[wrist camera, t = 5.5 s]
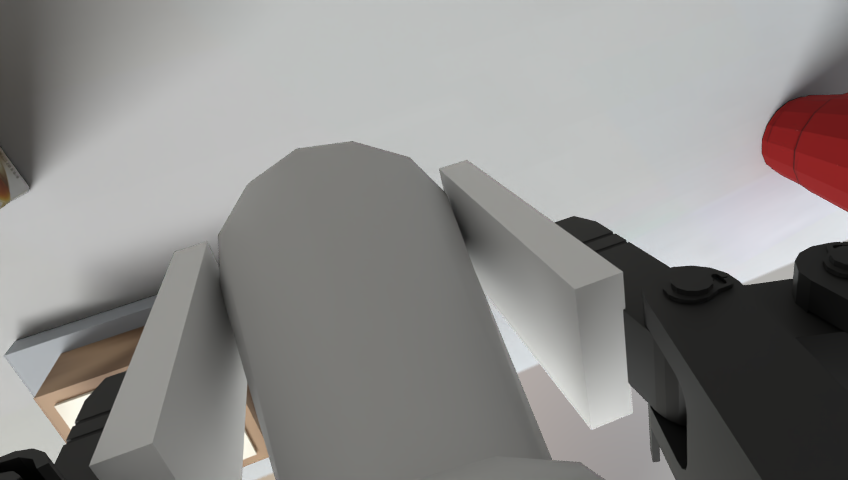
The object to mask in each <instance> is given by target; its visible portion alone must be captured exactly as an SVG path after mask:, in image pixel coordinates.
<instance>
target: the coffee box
mask: <svg viewBox="0 0 848 480" xmlns="http://www.w3.org/2000/svg"><path fill="white" fill-rule="evenodd" d="M28 192H29V186H28V185H27V183H26V182H25V181H24V179H23V178H22V177H21V175H20V174H19V173H18V171H17V170H16V168H15V167H14V166H13V164H12V163H11V161H10V160H9V159H8V157H7V156H6V155H5V153H4V152H3V150H2V149H1V148H0V209H1V208H2V207H4V206H5V205H6V204H8V203H9V202H11V201H12V200H15V199H17V198H19V197H21V196H22V195H24V194H26V193H28Z"/></svg>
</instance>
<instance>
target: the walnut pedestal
mask: <svg viewBox="0 0 848 480" xmlns="http://www.w3.org/2000/svg"><path fill="white" fill-rule="evenodd" d="M144 327H145V326H142V327H139V328H136V329H133V330H130V331H127V332H124V333H121V334H118V335H115V336H112V337H109V338H106V339H103V340H100V341H97V342H94V343H91V344H88V345H85V346H82V347H79V348H76V349H73V350H70V351H67V352H64V353H61V354H60V356H59V358H58V359H57V361H56V363H55V364H54V366H53V367H52V369H51V371H50V372H49V374H48V376H47V377H46V379H45V381H44V382H43V384H42V386H41V387H40V389H39V390H38V392H37V394H36V395H35V397H34V400H35V401H36V403H37V404H38V405H39V407H40V408H41V409H42V411H43V412H44V414H45V415H46V416H47V418H48V419H49V420H50V422H51V423H52V424H53V426H54V427H55V429H56V430H57V431H58V433H59V434H60V435H61V437H62V438H63V439H64V441H65V442H66V439H67V437H68V435H69V433H70V431H71V429H72V427H73V426H75V420H76V418H77V416H78V414H79V412H80V410H81V408H82V406H83V403H84V401H85V400H86V399H87V398H88V396H89V395H90V394H91V393H92V392H93V391H94V390H95V389H96V388H97V387H98V386H99V384H100V383H101V382H102V381H103V380H104V379H105V378H107V377H109V376H112V375H115V374H118V373H121V372H124V371H127V369H128V367H129V364H130V362H131V359H132V357H133V354H134V352H135V349H136V347H137V344H138V342H139V339H140V337H141V334H142V332H143V329H144ZM66 444H67V443H66ZM268 457H269V455H268V452H267V448H266V445H265V441H264V438H263V434H262V431H261V428H260V424H259V421H258V417H257V414H256V410H255V407H254V403H253V400H252V396H251V393H250V390H249V386H248V383H247V397H246V414H245V432H244V449H243V467H245V466H247V465H250V464H252V463H255V462H258V461H260V460H263V459H265V458H268Z"/></svg>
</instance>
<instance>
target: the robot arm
mask: <svg viewBox="0 0 848 480" xmlns="http://www.w3.org/2000/svg"><path fill="white" fill-rule="evenodd" d="M439 171H440V175H441V180H442V184H443V189H444V192H445V193H446V194H447V196H448V199H449V201H450V204H451V207H452V210H453V212H454V215H455V218H456V221H457V223H458V226H459V229H460V232H461V234H462V237H463V240H464V243H465V245H466V248H467V251H468V253H469V256H470V259H471V262H472V264H473V267H474V270H475V272H476V275H477V277H478V280H479V282H480V284H481V287H482V289H483V292H484V293H485V295H486V296H487V297H488V298H489V300H490V301H491V302H492V303H493V305H494V306H495V307H496V309H497V310H498V311H499V312H500V314H501V315H502V316H503V318H504V319H505V320H506V321H507V323H508V324H509V325H510V326H511V328H512V329H513V330H514V332H515V333H516V334H517V335H518V337H519V338H520V339H521V341H522V342H523V343H524V344H525V346H526V347H527V348H528V350H529V351H530V352H531V353H532V355H533V356H534V357H535V358H536V360H537V361H538V362H539V364H540V365H541V366H542V367H543V369H544V370H545V371H546V372H547V374H548V375H549V376H550V378H551V379H552V380H553V381H554V383H555V384H556V385H557V386H558V388H559V389H560V390H561V392H562V393H563V394H564V396H565V397H566V398H567V399H568V401H569V402H570V403H571V404H572V406H573V407H574V408H575V409H576V411H577V412H578V413H579V415H580V416H581V417H582V418H583V420H584V421H585V422H586V424H587V425H588V426H589V427H590V429H591V430H592V429H595V428H597V427H600V426H602V425H605V424H607V423H610V422H612V421H615V420H617V419H620V418H622V417H624V416H627V415H629V414H632V413H633V409H632V394H631V386H632V387H633V388H634V389H635V390H636V391H637V392H638V393H639V394H640V395H641V396H642V397H643V398H644V399H645V400H646V401H647V402H648V409H649V430H650V449H651V455H652V460H653V462H658V461H660V449H659V447H660V448H661V450H662V452H663V454H664V456H665V458H666V460H667V463H668V465H669V467H670V469H671V471H672V473H673V475H674V477H675V479H676V480H848V242H843V243H841V242H833V243H827V244H822V245H817V246H812V247H810V248H808V249H806V250H804V251H802V252H800V253H799V255H798V257H797V258H796V260H795V265H794V276H793V279H787V280H780V281H773V282H766V283H759V284H752V285H742V284H741V283H740V282H739V281H738V280H736V279H735V278H733V277H732V276H730V275H729V274H728V273H725V272H722V271H719V270H716V269H712V268H708V267H699V266H681V267H672V268H670V267H668V266H667V265H665V264H664V263H662V262H660V261H659V260H657V259H656V258H654V257H652V256H651V255H649V254H648V253H646V252H644V251H643V250H641V249H640V248H638V247H636V246H635V245H633V244H632V243H630V242H628V243H627V242H626V240H625V239H624V238H622V237H620V236H619V235H617V234H613V232H612V231H611V230H609V229H607V228H606V227H604V226H603V225H601V224H599V223H598V222H596V221H592V220H588V219H584V218H579V217H575V216H573V217H570V218H567V219H564V220H561V221H558V222H555V223H554V222H553V221H551V220H550V219H549V218H547V217H546V216H544V215H543V214H542V213H540V212H539V211H538V210H536V209H535V208H533V207H532V206H531V205H529V204H528V203H526V202H525V201H524V200H522V199H521V198H519V197H518V196H517V195H515V194H514V193H512V192H511V191H510V190H508V189H507V188H505V187H504V186H503V185H501V184H500V183H499V182H497V181H496V180H494V179H493V178H492V177H490V176H489V175H487V174H486V173H485V172H483V171H482V170H480V169H479V168H478V167H476V166H475V165H473V164H472V163H471V162H469V161H468V160H465V161H462V162H459V163H456V164H452V165H449V166H446V167H443V168H440V169H439ZM246 397H247V379H246V376H245V372H244V369H243V365H242V362H241V358H240V355H239V352H238V348H237V345H236V341H235V338H234V334H233V331H232V327H231V324H230V320H229V317H228V314H227V310H226V307H225V303H224V300H223V296H222V293H221V287H220V270H219V266H218V264H217V261H216V259H215V257H214V255H213V253H212V251H211V248H210V246H209V244H208V242H204V243H200V244H197V245H194V246H191V247H188V248H184V249H181V250H178V251H175V252H174V254H173V257H172V259H171V262H170V264H169V267H168V269H167V272H166V274H165V277H164V279H163V282H162V284H161V287H160V289H159V292H158V294H157V297H156V299H155V302H154V304H153V307H152V309H151V312H150V314H149V317H148V319H147V322H146V324H145V327H144V329H143V332H142V334H141V337H140V339H139V342H138V344H137V347H136V349H135V352H134V354H133V357H132V359H131V362H130V364H129V367H128V369H127V371H124V372H121V373H118V374H115V375H112V376H109V377H107V378H105V379H104V380H103V381H102V382H101V383H100V384H99V386H98V387H97V388H96V389H95V390H94V391H93V392H92V393H91V394H90V395H89V396H88V398H87V399H86V400H85V401H84V403H83V406H82V408H81V410H80V412H79V414H78V416H77V418H76V420H75V426H73V427H72V429H71V431H70V433H69V435H68V437H67V439H66V443H67V444H66V445H63V447H62V449H61V452H60V454H59V456H58V458H57V460H56V462H55V464H53V462H52V461H51V460H50V458H49V457H48V456H47V454H46V453H45V452H42V451H39V450H36V449H27V450H21V451H15V452H12V453H10V454H7V455H5V456H2V457H0V480H242V467H243V449H244V432H245V414H246Z"/></svg>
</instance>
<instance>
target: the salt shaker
mask: <svg viewBox="0 0 848 480" xmlns="http://www.w3.org/2000/svg"><path fill="white" fill-rule="evenodd" d="M218 247H219V270H220V287H221V293H222V296H223V300H224V303H225V307H226V310H227V314H228V317H229V320H230V324H231V327H232V331H233V334H234V338H235V341H236V345H237V348H238V352H239V355H240V358H241V362H242V365H243V369H244V372H245V376H246V379H247V383H248V386H249V390H250V393H251V396H252V400H253V403H254V407H255V410H256V414H257V417H258V421H259V424H260V428H261V431H262V434H263V438H264V441H265V445H266V448H267V452H268V455H269V459H270V462H271V466H272V469H273V472H274V476H275V479H276V480H605V479H604V478H602V477H601V476H599V475H598V474H596V473H595V472H593V471H592V470H591V469H589V468H588V467H586V466H585V465H583V464H582V463H580V462H570V461H556V460H552V458H551V456H550V453H549V451H548V448H547V446H546V444H545V441H544V439H543V436H542V434H541V431H540V429H539V426H538V424H537V421H536V419H535V417H534V414H533V412H532V409H531V407H530V404H529V402H528V399H527V397H526V395H525V392H524V390H523V387H522V385H521V382H520V380H519V378H518V375H517V373H516V370H515V368H514V365H513V363H512V360H511V358H510V355H509V353H508V350H507V348H506V346H505V343H504V341H503V338H502V336H501V333H500V331H499V328H498V326H497V324H496V321H495V319H494V316H493V314H492V311H491V309H490V306H489V304H488V302H487V299H486V297H485V294H484V292H483V289H482V287H481V284H480V282H479V280H478V277H477V275H476V272H475V270H474V267H473V264H472V262H471V259H470V256H469V253H468V251H467V248H466V245H465V243H464V240H463V237H462V234H461V232H460V229H459V226H458V223H457V221H456V218H455V215H454V212H453V210H452V207H451V204H450V201H449V199H448V196H447V194H446V193H445V192H444V191H443V190H442V189H441V188H440V187H439V186H438V185H437V184H436V183H435V182H434V181H433V180H432V179H431V178H430V177H429V176H428V175H427V174H426V173H425V172H424V171H423V170H422V169H421V168H420V167H419V166H418V165H417V164H416V163H415V162H414V161H413V160H412V159H411V158H410V157H406V156H403V155H400V154H396V153H393V152H389V151H385V150H382V149H378V148H375V147H371V146H368V145H364V144H361V143H357V142H353V141H350V142H343V143H335V144H328V145H321V146H313V147H306V148H298V149H295V150H294V151H292V152H291V153H290V154H288V155H287V156H286V157H284V158H283V159H281V160H280V161H279V162H277V163H276V164H274V165H273V166H272V167H270V168H269V169H268V170H266V171H265V172H263V173H262V174H261V175H259V176H258V177H256V178H255V179H254V180H252V181H251V182H250V183H249V184H248V185H247V186H246V188H245V189H244V191H243V193H242V194H241V196H240V198H239V200H238V201H237V203H236V205H235V207H234V208H233V210H232V212H231V214H230V215H229V217H228V219H227V221H226V222H225V224H224V226H223V228H222V229H221V231H220V233H219V235H218Z"/></svg>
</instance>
